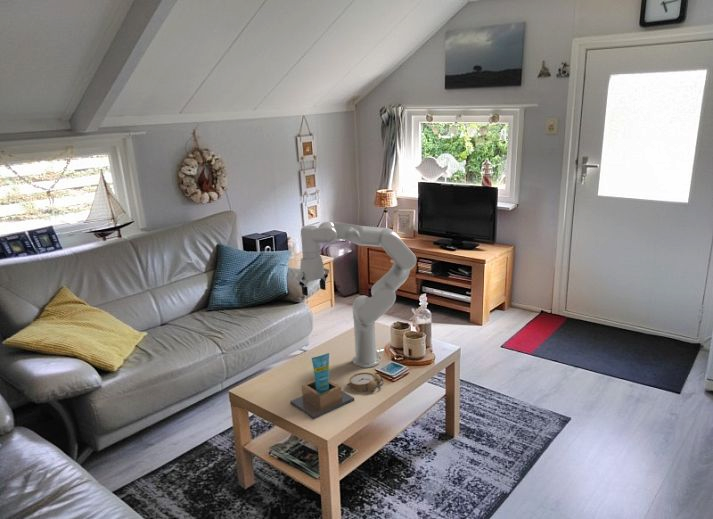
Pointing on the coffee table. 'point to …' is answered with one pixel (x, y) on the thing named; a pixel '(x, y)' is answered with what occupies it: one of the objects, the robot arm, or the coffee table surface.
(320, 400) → the wooden box on base
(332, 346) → the coffee table surface
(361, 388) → the alarm clock
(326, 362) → the tube
